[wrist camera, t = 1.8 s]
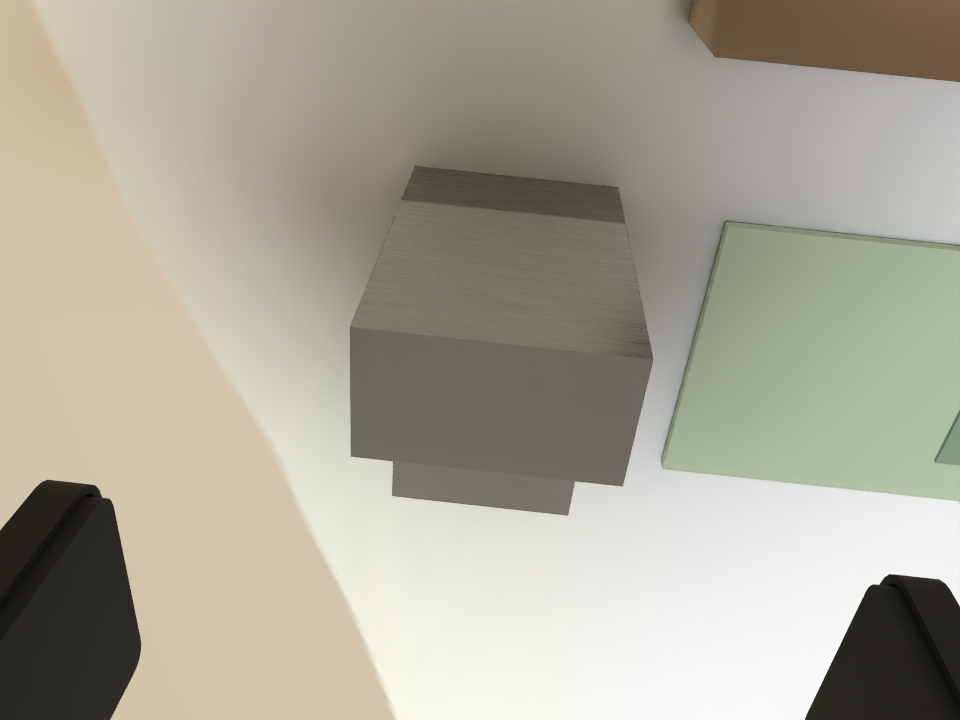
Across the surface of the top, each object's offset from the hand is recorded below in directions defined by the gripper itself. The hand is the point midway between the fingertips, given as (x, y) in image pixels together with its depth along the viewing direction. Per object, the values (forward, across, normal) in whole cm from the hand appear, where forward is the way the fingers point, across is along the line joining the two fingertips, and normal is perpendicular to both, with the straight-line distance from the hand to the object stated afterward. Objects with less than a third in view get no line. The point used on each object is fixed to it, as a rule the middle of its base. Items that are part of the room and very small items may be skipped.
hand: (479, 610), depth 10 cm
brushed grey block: (+10, 0, +2) cm, 11 cm away
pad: (+10, -10, +2) cm, 14 cm away
